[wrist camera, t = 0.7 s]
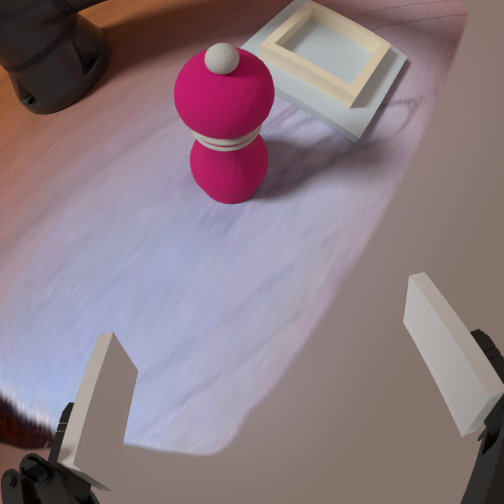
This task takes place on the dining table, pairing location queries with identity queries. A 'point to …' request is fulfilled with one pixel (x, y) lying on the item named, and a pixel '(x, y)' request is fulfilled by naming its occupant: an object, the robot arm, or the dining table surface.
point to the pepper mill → (226, 119)
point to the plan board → (327, 65)
